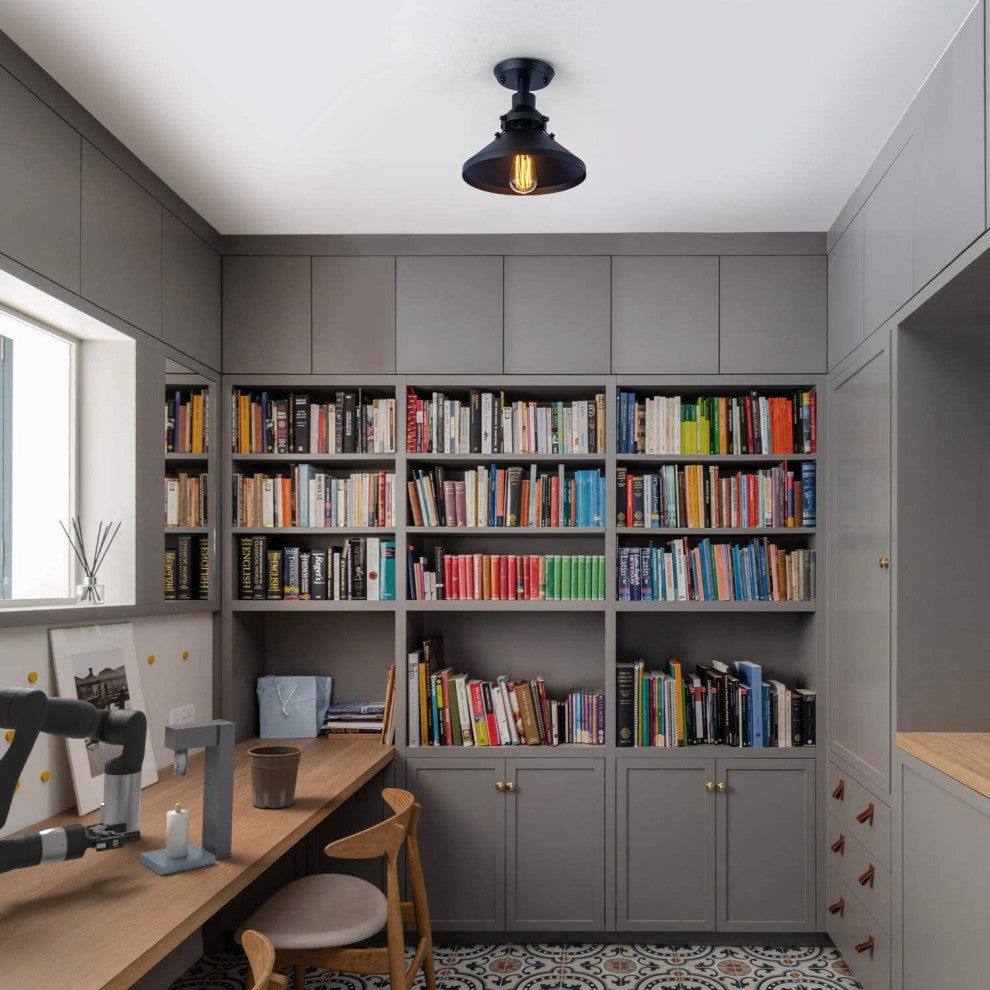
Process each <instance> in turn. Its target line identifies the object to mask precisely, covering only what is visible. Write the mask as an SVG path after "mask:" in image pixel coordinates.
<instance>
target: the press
mask: <svg viewBox="0 0 990 990" xmlns="http://www.w3.org/2000/svg"><path fill="white" fill-rule="evenodd" d="M235 741H236V722H232V721H230V720H229V721H228V720H225V719H220V718H219V719H212V720H206V721H200V722H199V721H198V722H191V723H190V722H189V723H183V724H182V723H181V724H171V725H165V726H164V746H163V747H164V748H167V749H169V750H172V751H174V762H173V764H174V766H173V776H176V777H178V776H179V777H181V776H182V777H183V776H186V775H187V774H188V758H189V757H188V753H189V749H190V750H191V749H199V748H204V767H203V769H204V772H203V774H204V775H203V797H202V798H203V799H202V801H203V802H202V828H201V829H202V832H201V847H200V846H198V845H197V844H194V843H192V842H190V843H188V854H187V855H186V856H183V857H178V858H169V857H167V856H166V848H162V849H156V850H152V851H147V852H141V853H139V863H141V864H142V863H143V864H142V865H144V864H145V865H146V866H145V865H144V866H145V867H147V866H148V867H149V869H150V868H151V869H150V870H152V869H153V870H154V871H153V870H152V871H153V872H155V871H156V872H157V873H156V872H155V873H156V874H158V873H159V874H158V875H160V874H161V875H163V876H165V875H164V874H167V875H170V874H169V873H172V874H175V873H174V872H176V873H179V872H178V871H181V872H183V871H182V870H185V871H188V870H187V869H190V870H193V869H192V868H194V869H198V868H197V867H199V868H202V867H201V866H203V867H206V865H208V866H212V865H215V864H216V863H215V861H219V860H222V858H224V859H228V858H231V857H232V842H233V841H232V838H233V836H232V835H233V813H234V812H233V810H234V809H233V808H234V807H233V806H234V805H233V803H234V783H235V782H234V778H235V777H234V775H235V774H234V773H235V744H236V742H235ZM227 857H228V858H227ZM218 859H219V860H218ZM214 863H215V864H214ZM211 864H212V865H211ZM148 867H147V868H148ZM161 875H160V876H161Z"/></svg>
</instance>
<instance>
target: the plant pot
mask: <svg viewBox="0 0 990 990" xmlns="http://www.w3.org/2000/svg"><path fill="white" fill-rule="evenodd" d="M303 751H304V750H303V748H301V747H299V746H292V745H265V746H257V747H253V748H250V749H248V750H247V754H248V755H249V765H250V771H251V790H252V792H251V793H252V805H253V806H254V807H255V806H256V807H255V808H258V807H259V809H265V808H269V809H271V808H272V809H282V807H284V808H286V806H287V807H291V806H292V805H293V804H294V803H295V795H296V787H297V778H298V770H299V764H300V762H301V755H302V753H304V752H303ZM292 803H293V804H292Z"/></svg>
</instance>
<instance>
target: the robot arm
mask: <svg viewBox="0 0 990 990" xmlns="http://www.w3.org/2000/svg"><path fill="white" fill-rule="evenodd" d="M0 729H1V730H11V731H12V730H13V731H14V734H13V737H12V740H11V742H10V745H9V746H8V748H7V750H6V751H5V753H4V755H3V756H2V757H1V759H0V830H2V829H3V828H4V827H5V825H6V823H7V821H8V820H7V819H8V817H9V814H10V810H11V807H12V802H13V798H14V795H15V792H16V789H17V787H18V783H19V780H20V777H21V775H22V772H23V770H24V767H25V766H26V764H27V761H28V759H29V757H30V755H31V753H32V750H33V748H34V747H35V743H37V739H38V737H39V735H40V733H42V734H43V733H44V734H46V735H50V736H56V737H61V738H65V739H74V740H81V739H82V740H84V739H87V738H88V739H92V740H94V741H98V742H101V743H103V744H106V745H111V746H122V751H121V754H120V755H119V756H117V757H113V758H109V759H108V760H107V761H106V762H104V763H105V764H104V771H103V772H104V774H103V776H104V777H103V797H102V798H103V799H102V802H101V804H100V806H99V807H100V809H99V810H100V812H99V823H94V824H89V825H88V824H87V825H83V824H82V823H72V824H67V825H62V826H57V827H51V828H50V827H49V828H46V829H43V830H40V831H35V832H34V831H33V832H28V833H23V834H18V835H15V836H13V837H11V838H9V839H3V840H2V839H1V840H0V875H2V874H5V873H7V872H11V871H14V870H19V869H20V870H22V869H25V868H32V867H36V866H43V865H45V866H46V865H54V864H58V863H65V862H68V861H73V860H79V859H82V858H83V857H84V856H85V854H86V851H87V850H88V849H92V850H95V852H97V853H100V852H105V851H109V850H117V849H123V848H124V847H125V844H128V843H133V842H139V841H140V840H141V827H140V825H141V824H140V823H141V801H142V795H141V794H142V778H143V777H142V776H143V775H142V774H143V763H144V759H145V756H146V755H145V754H146V741H147V733H148V721H147V716H146V714H145V713H144V712H143V711H142V710H137V709H136V710H135V709H122V708H121V709H116V708H115V709H100V708H99V709H98V708H97V707H96V706H95V705H94V704H92V703H91V702H88V701H86V700H83V699H82V700H81V699H77V698H72V697H59V696H58V697H57V696H55V697H54V696H48V695H47V694H46V693H45V692H44V691H43V690H41V689H38V688H31V687H19V686H18V687H17V686H6V687H3V688H1V689H0Z"/></svg>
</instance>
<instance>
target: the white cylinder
mask: <svg viewBox="0 0 990 990" xmlns="http://www.w3.org/2000/svg"><path fill="white" fill-rule="evenodd" d="M189 817H190V810H188V809H182V803H181V802H178V803H175V805H174V809H173V810H169V811H167V812H166V841H165V842H166V845H165V847H166V856H167V857H169V858H178V857H183V856H186V855H187V854H188V844H189V820H190V819H189Z"/></svg>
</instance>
